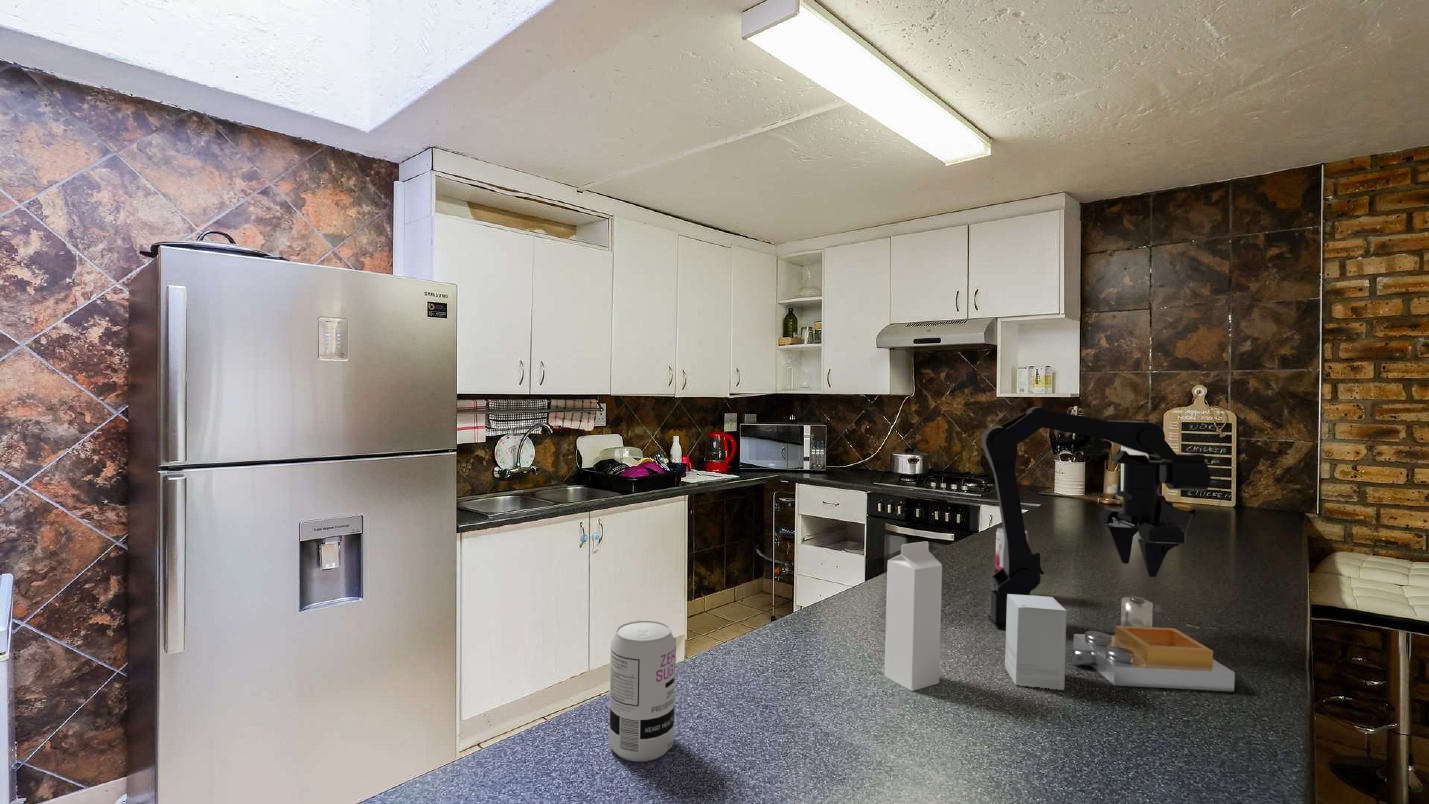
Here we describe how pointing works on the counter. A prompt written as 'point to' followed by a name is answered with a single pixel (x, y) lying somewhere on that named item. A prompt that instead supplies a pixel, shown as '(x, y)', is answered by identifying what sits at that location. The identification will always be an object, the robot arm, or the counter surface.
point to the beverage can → (1000, 549)
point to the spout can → (1137, 612)
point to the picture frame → (1152, 659)
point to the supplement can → (642, 690)
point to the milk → (913, 617)
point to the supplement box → (1035, 641)
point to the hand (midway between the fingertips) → (1138, 569)
